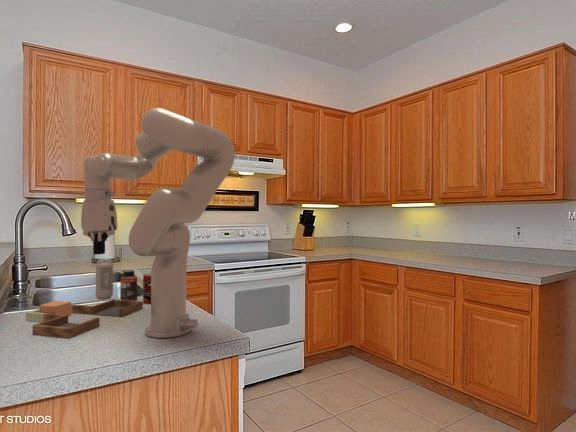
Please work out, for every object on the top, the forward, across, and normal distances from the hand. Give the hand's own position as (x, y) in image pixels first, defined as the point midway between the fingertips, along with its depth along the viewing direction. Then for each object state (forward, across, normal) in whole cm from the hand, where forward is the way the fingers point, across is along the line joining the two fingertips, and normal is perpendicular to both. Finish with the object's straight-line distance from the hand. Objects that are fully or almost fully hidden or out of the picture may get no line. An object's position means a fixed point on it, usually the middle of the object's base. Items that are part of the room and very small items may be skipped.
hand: (99, 253), depth 115 cm
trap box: (+20, +7, +1) cm, 22 cm away
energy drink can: (+20, +19, -25) cm, 37 cm away
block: (+20, +15, +2) cm, 25 cm away
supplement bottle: (+20, +8, -25) cm, 33 cm away
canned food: (+21, -3, -25) cm, 32 cm away
